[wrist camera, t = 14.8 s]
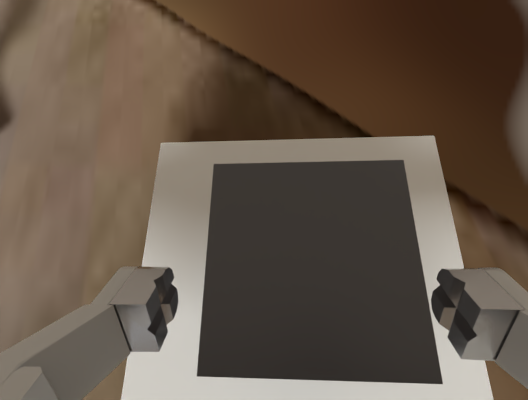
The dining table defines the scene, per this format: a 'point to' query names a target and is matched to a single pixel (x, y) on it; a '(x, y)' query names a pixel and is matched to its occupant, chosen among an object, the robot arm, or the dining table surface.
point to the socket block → (194, 261)
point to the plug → (315, 275)
